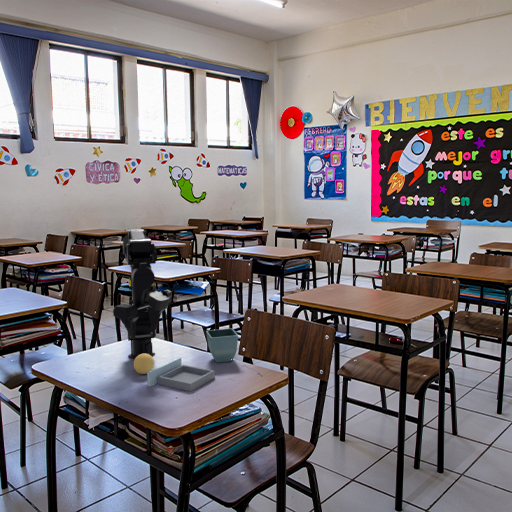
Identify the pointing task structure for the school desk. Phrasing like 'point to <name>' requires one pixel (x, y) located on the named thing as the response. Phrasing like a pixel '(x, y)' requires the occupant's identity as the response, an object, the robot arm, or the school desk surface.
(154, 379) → the wall
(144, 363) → the ball
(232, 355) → the flower pot
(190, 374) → the dish
